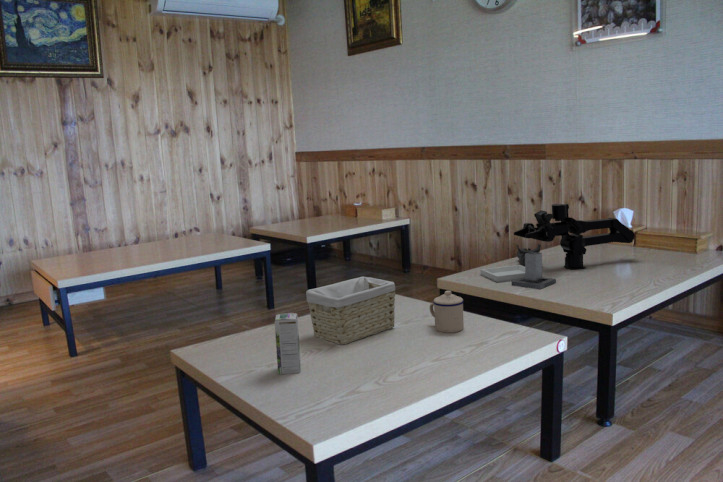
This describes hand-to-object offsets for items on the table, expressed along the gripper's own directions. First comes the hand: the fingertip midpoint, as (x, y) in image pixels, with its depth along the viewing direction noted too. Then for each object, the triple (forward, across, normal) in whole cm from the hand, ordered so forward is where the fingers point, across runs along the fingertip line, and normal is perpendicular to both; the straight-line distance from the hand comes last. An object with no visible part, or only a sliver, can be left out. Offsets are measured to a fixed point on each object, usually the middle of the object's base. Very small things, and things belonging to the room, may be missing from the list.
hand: (519, 234), depth 245 cm
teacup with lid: (+56, +52, +17) cm, 78 cm away
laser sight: (-11, -15, +17) cm, 25 cm away
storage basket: (+83, +43, +16) cm, 95 cm away
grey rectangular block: (+4, +16, +17) cm, 24 cm away
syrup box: (+106, +67, +16) cm, 126 cm away
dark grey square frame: (+4, +16, +17) cm, 24 cm away
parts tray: (+6, 0, +16) cm, 18 cm away
